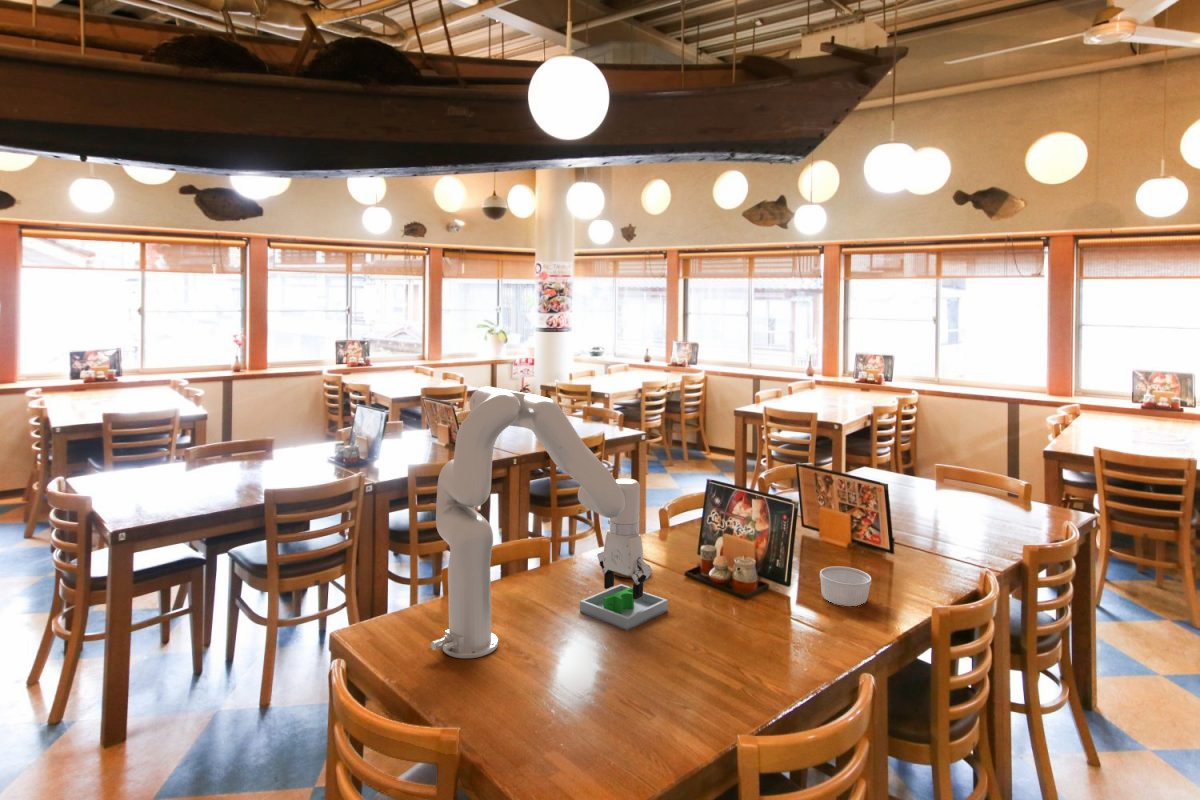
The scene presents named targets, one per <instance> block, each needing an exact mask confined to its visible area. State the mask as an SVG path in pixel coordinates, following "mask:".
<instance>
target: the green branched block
mask: <svg viewBox="0 0 1200 800" xmlns="http://www.w3.org/2000/svg"><path fill="white" fill-rule="evenodd" d="M629 587H630V588H627V589H625V590H622V591H620V592H617V593H615V594H612V595H610V596H607V597H605V598H604V604H603V608H605V609H607V610H610V611H613V612H616V613H618V614H623V609H631V610H632V609H634V599H633V586H632V587H631V586H629Z"/></svg>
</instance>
